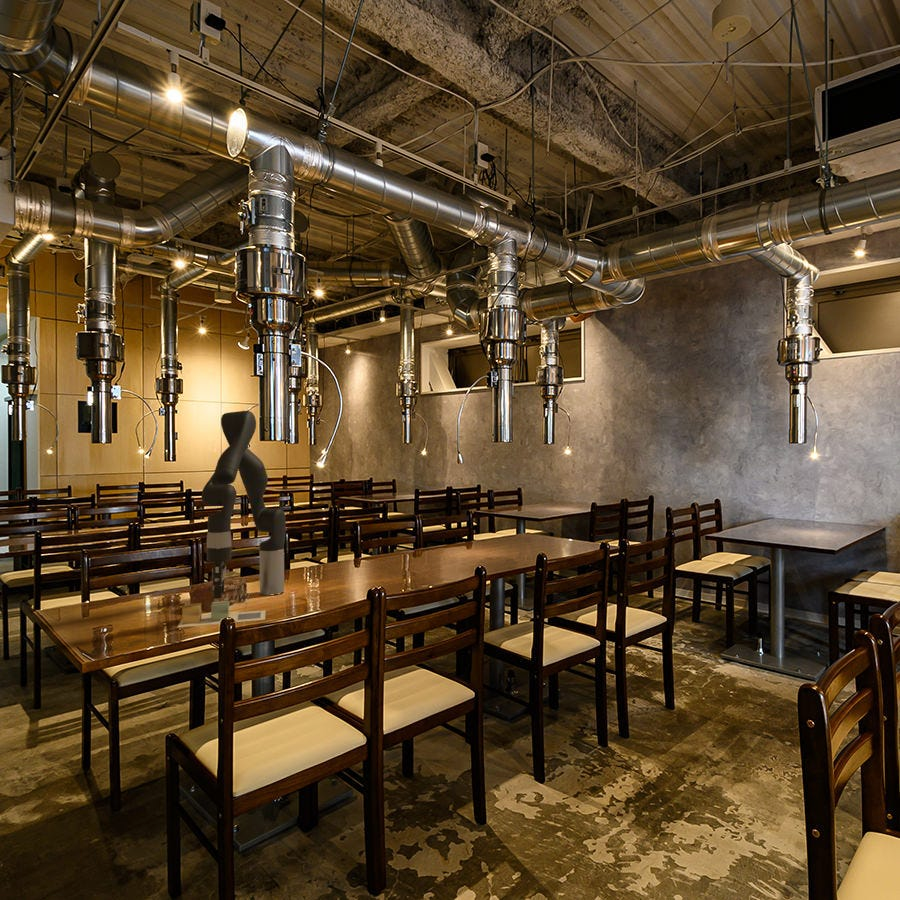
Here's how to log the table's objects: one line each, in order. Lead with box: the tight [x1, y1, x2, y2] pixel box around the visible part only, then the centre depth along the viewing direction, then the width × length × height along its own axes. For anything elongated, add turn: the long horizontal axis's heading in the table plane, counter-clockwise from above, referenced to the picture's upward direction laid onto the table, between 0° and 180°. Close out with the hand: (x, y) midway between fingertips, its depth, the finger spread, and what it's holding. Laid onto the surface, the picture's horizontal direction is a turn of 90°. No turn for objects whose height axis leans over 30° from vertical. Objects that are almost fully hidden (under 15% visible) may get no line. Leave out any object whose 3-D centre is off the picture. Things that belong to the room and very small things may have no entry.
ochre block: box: [181, 603, 202, 624], centre depth 186 cm, size 5×5×5 cm
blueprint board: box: [177, 610, 266, 628], centre depth 189 cm, size 12×26×1 cm, turn 107°
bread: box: [189, 577, 248, 613], centre depth 208 cm, size 19×11×10 cm, turn 163°
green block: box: [210, 601, 230, 621], centre depth 189 cm, size 5×5×5 cm
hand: (219, 595), depth 189 cm, fingers open, 8 cm apart
